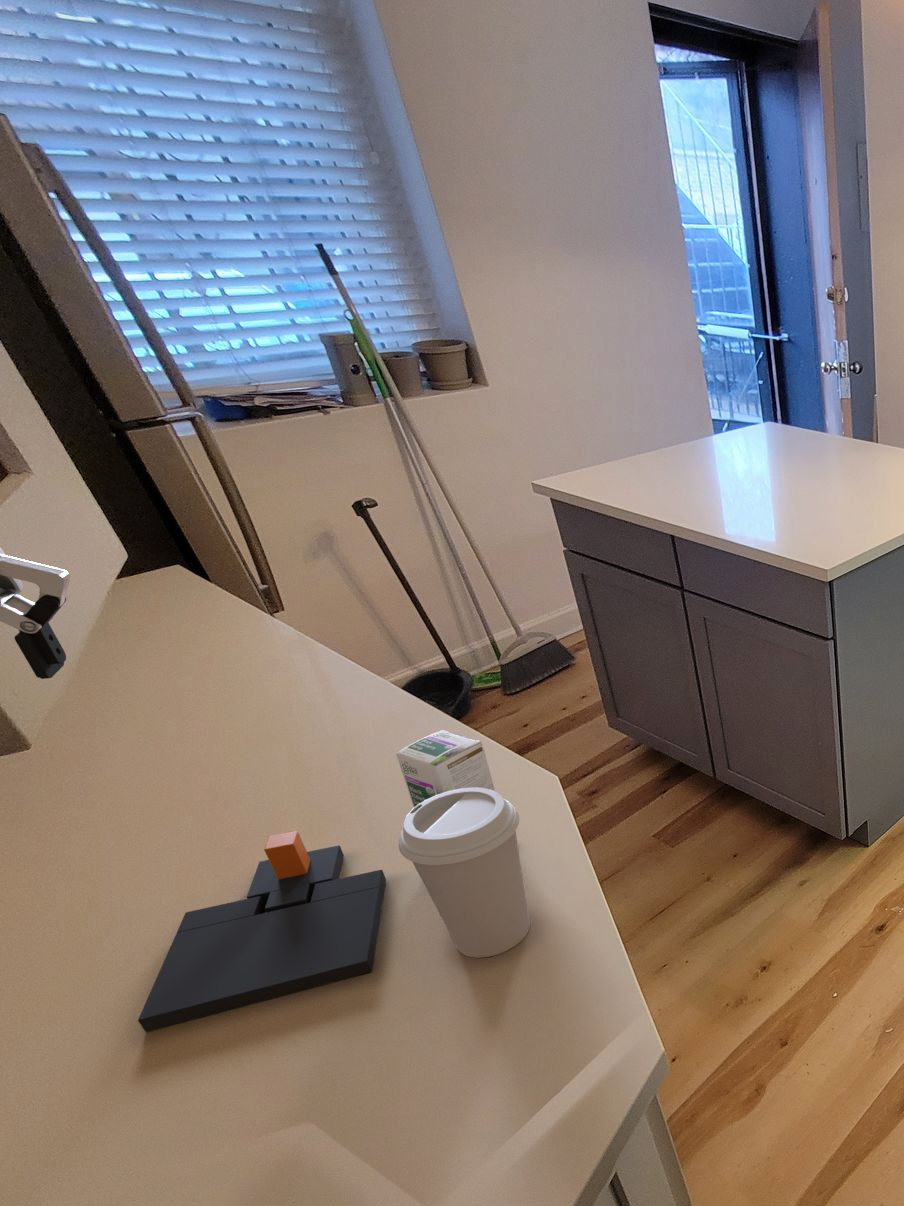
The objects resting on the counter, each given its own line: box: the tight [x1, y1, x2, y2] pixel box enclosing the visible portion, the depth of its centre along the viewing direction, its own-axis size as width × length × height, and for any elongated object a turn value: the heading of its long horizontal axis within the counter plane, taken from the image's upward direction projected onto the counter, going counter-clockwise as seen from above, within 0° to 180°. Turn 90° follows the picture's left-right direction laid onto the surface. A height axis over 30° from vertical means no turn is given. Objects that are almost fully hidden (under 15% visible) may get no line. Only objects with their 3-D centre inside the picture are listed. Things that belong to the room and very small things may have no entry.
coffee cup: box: [398, 788, 531, 959], centre depth 75 cm, size 10×10×15 cm
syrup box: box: [395, 729, 496, 808], centre depth 84 cm, size 6×6×14 cm
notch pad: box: [137, 869, 387, 1033], centre depth 75 cm, size 16×14×2 cm
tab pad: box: [246, 830, 345, 913], centre depth 81 cm, size 7×9×6 cm
